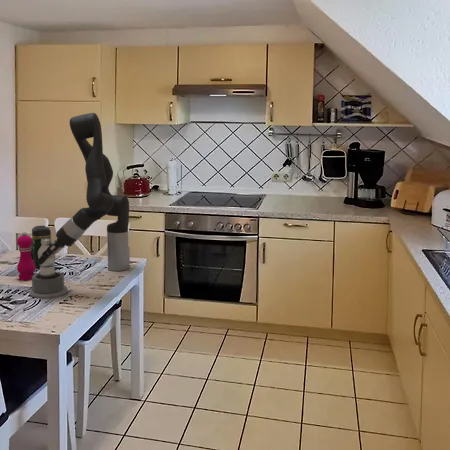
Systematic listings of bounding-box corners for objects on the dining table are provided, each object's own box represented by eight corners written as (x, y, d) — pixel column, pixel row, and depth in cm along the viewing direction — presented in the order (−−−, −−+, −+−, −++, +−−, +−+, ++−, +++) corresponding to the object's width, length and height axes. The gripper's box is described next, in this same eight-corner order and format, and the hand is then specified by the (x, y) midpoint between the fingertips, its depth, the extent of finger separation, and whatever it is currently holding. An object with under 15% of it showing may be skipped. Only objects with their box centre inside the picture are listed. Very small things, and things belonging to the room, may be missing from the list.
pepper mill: (30, 281, 226) (27, 234, 222) (14, 280, 228) (11, 233, 224) (39, 276, 233) (36, 230, 229) (23, 275, 234) (21, 229, 231)
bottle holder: (47, 284, 222) (46, 269, 221) (75, 289, 216) (74, 273, 215) (21, 294, 209) (20, 278, 208) (49, 300, 204) (49, 283, 202)
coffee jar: (53, 268, 246) (51, 227, 242) (35, 270, 242) (33, 229, 239) (50, 262, 254) (48, 223, 251) (32, 264, 251) (30, 225, 247)
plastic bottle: (60, 289, 212) (59, 238, 209) (46, 293, 207) (44, 241, 204) (50, 286, 216) (48, 236, 213) (35, 290, 211) (33, 239, 208)
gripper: (71, 220, 214) (43, 248, 217) (57, 228, 200) (28, 257, 203) (85, 234, 214) (57, 262, 218) (71, 242, 200) (42, 272, 204)
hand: (43, 260), depth 210 cm, fingers open, 7 cm apart
